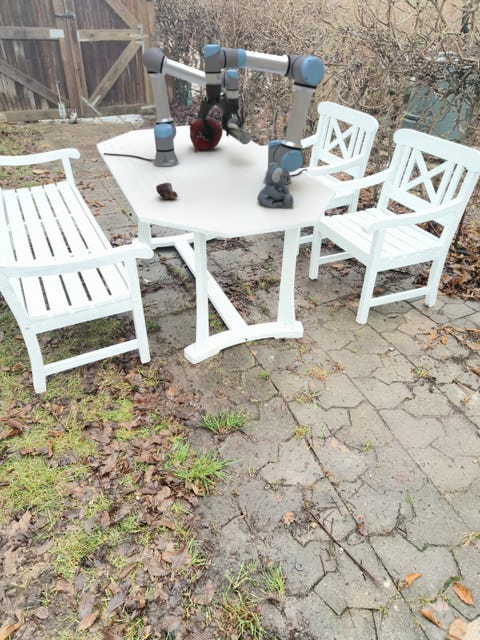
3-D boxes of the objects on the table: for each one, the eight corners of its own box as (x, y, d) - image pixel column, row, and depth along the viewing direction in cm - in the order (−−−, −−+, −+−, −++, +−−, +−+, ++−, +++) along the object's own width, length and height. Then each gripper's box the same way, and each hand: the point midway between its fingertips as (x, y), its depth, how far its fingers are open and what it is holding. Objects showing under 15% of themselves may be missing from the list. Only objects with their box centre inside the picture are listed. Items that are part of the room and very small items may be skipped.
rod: (226, 135, 300) (225, 123, 296) (237, 134, 302) (236, 122, 298) (239, 144, 279) (239, 131, 274) (251, 143, 281) (251, 130, 276)
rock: (172, 196, 246) (154, 198, 242) (170, 179, 242) (152, 182, 238) (179, 199, 236) (161, 201, 232) (177, 182, 233) (159, 184, 229)
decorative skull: (188, 123, 330) (185, 120, 306) (219, 116, 329) (218, 112, 306) (194, 153, 337) (192, 152, 313) (225, 146, 336) (225, 145, 313)
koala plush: (294, 208, 225) (297, 169, 214) (259, 209, 224) (259, 170, 213) (288, 196, 240) (290, 159, 229) (255, 198, 239) (255, 160, 227)
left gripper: (218, 99, 279) (220, 138, 292) (249, 97, 285) (249, 135, 298) (215, 97, 285) (217, 135, 298) (245, 95, 291) (246, 133, 304)
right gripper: (199, 86, 200) (202, 137, 212) (237, 81, 215) (237, 128, 227) (188, 85, 204) (191, 134, 216) (226, 80, 219) (227, 126, 231)
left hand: (233, 135), depth 298 cm, fingers closed on rod, 8 cm apart
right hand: (215, 131), depth 222 cm, fingers open, 13 cm apart
